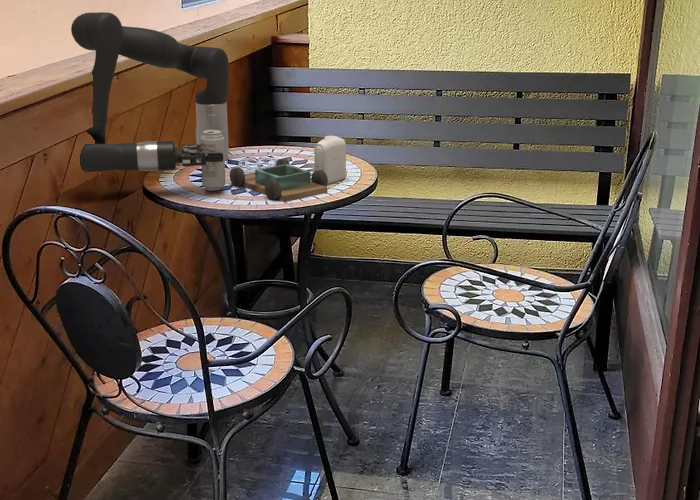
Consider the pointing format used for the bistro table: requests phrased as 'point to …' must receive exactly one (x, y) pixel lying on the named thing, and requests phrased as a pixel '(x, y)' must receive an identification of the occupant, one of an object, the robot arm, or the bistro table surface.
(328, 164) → the photo printer
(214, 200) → the bistro table surface
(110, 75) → the robot arm
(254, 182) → the chassis
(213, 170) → the energy drink can
